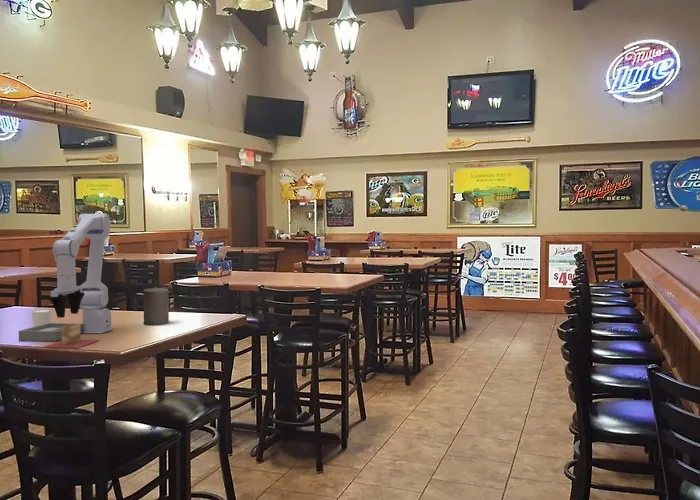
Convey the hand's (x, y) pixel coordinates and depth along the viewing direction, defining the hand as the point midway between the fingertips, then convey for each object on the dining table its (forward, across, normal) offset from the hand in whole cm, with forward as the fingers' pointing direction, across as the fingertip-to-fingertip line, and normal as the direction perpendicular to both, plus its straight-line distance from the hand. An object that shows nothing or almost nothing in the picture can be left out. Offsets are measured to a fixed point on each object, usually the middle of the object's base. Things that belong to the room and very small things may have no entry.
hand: (67, 315), depth 202 cm
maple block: (+9, +2, +2) cm, 10 cm away
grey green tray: (+9, -9, -12) cm, 18 cm away
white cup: (+10, -23, -26) cm, 36 cm away
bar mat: (+9, +2, +3) cm, 10 cm away
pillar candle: (+10, -40, +12) cm, 43 cm away
